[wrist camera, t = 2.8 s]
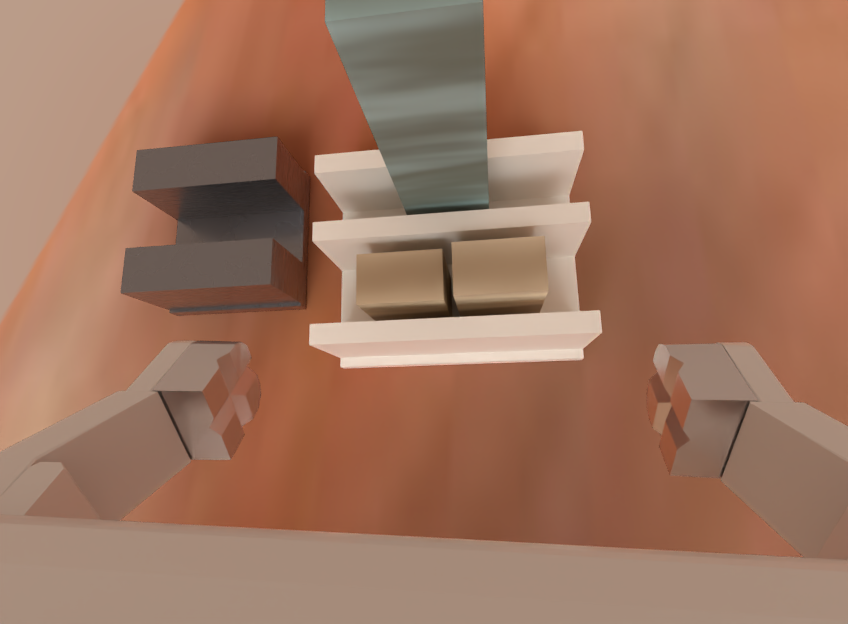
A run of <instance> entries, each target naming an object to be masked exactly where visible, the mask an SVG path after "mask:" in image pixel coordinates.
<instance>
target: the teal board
mask: <svg viewBox="0 0 848 624" xmlns="http://www.w3.org/2000/svg"><path fill="white" fill-rule="evenodd" d="M325 23H326V26H327V28H328V30H329V33H330V35H331V37H332V40H333V42H334V44H335V47H336V49H337V51H338V54H339V56H340V59H341V61H342V63H343V66H344V68H345V70H346V73H347V75H348V77H349V80H350V82H351V84H352V87H353V89H354V92H355V94H356V96H357V99H358V101H359V103H360V106H361V108H362V110H363V113H364V115H365V117H366V120H367V122H368V125H369V127H370V129H371V132H372V134H373V136H374V139H375V141H376V143H377V146H378V148H379V150H380V153H381V155H382V158H383V160H384V162H385V165H386V167H387V169H388V172H389V174H390V176H391V179H392V181H393V183H394V186H395V188H396V191H397V193H398V195H399V198H400V200H401V202H402V205H403V207H404V209H405V212H406V214H407V215H417V214H430V213H444V212H457V211H470V210H484V209H489V191H488V156H487V122H486V88H485V53H484V19H483V0H325Z"/></svg>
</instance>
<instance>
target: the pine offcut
mask: <svg viewBox="0 0 848 624" xmlns="http://www.w3.org/2000/svg"><path fill="white" fill-rule="evenodd" d="M451 245H452V274H453V296H454V299H455V302H456V305H457V308H458V311H459V314H460V317H468V316H489V315H510V314H531V313H540V311H541V308H542V306H543V303H544V301H545V298H546V296H547V293H548V291H549V286H548V273H547V260H546V247H545V236H535V237H520V238H505V239H490V240H476V241H461V242H451Z"/></svg>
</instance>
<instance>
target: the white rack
mask: <svg viewBox="0 0 848 624" xmlns="http://www.w3.org/2000/svg"><path fill="white" fill-rule="evenodd" d="M583 152H584V142H583V132H582V131H573V132H562V133H552V134H541V135H530V136H519V137H508V138H498V139H487V156H488V191H489V209H484V210H470V211H457V212H444V213H430V214H417V215H407V214H406V212H405V209H404V207H403V205H402V202H401V200H400V198H399V195H398V193H397V191H396V188H395V186H394V183H393V181H392V179H391V176H390V174H389V172H388V169H387V167H386V165H385V162H384V160H383V158H382V155H381V153H380V150H368V151H357V152H346V153H336V154H325V155H315V166H314V174H315V175H316V176H317V178H318V179H319V180H320V182H321V183H322V185H323V186H324V187H325V189H326V190H327V192H328V193H329V194H330V196H331V197H332V198H333V200H334V201H335V203H336V204H337V205H338V207H339V208H340V209H341V211H342V212H343V220H337V221H323V222H313V233H312V242H313V243H314V244H315V245H316V246H317V247H318V248H319V249H321V250H322V251H323V252H324V253H325V254H326V255H327V256H328V257H329V258H330V259H331V260H332V261H333V262H334V263H335V264H336V265H337V266H338V267H339V268H340V269H341V270H342V301H341V323H322V324H310V333H309V345H311V346H313V347H315V348H318V349H320V350H322V351H325V352H327V353H330V354H332V355H334V356H337V357H339V358H341V363H340V367H342V368H373V367H401V366H429V365H457V364H485V363H513V362H541V361H569V360H582V359H583V358H584V355H583V348H585V347H586V346H587V345H588V344H589V343H590V342H592V341H593V340H594V339H595V338H596V337H598V336H599V335H600V334H601V333H602V325H601V315H600V310H594V311H580V310H579V299H578V287H577V276H576V265H575V255H576V253H577V251H578V249H579V247H580V244H581V242H582V240H583V238H584V236H585V234H586V232H587V230H588V228H589V226H590V224H591V213H590V203H589V202H577V203H570V198H569V195H570V192H571V189H572V186H573V183H574V179H575V176H576V173H577V170H578V167H579V164H580V161H581V158H582V155H583ZM535 236H545V247H546V260H547V273H548V286H549V291H548V293H547V296H546V298H545V301H544V303H543V306H542V308H541V311H540V313H531V314H510V315H489V316H468V317H460V314H459V311H458V308H457V305H456V302H455V299H454V296H453V274H452V245H451V242H461V241H476V240H490V239H505V238H520V237H535ZM431 249H442V250H443V253H444V257H445V260H446V263H447V266H448V270H449V273H450V276H451V291H452V317H447V318H427V319H406V320H385V321H375V320H374V319H372V318H371V317H370V316H369V315H368V314H366V313H365V312H364V311H363V310H362V309H361V308H359V307H358V306H357V305H356V256H357V254H370V253H385V252H400V251H416V250H431Z"/></svg>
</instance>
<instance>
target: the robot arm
mask: <svg viewBox="0 0 848 624" xmlns="http://www.w3.org/2000/svg"><path fill="white" fill-rule="evenodd" d="M250 360H251V355H250V352H249V350H248V347H247V345H245V344H244V343H242V342H225V341H173V342H170V343H168V344H167V345H166V346H165V347H164V349H163V350H162V351H161V352H160V353H159V354H158V355H157V356H156V357H155V359H154V360H153V361H152V362H151V363H150V364H149V365H148V366H147V368H146V369H145V370H144V371H143V372H142V373H141V374H140V375H139V376H138V378H137V379H136V380H135V381H134V382H133V383H132V384H131V385H130V387H129V388H128V389H127V390H126V391H117V392H115V393H113V394H111V395H110V396H108V397H106V398H104V399H102V400H100V401H98V402H96V403H94V404H92V405H90V406H88V407H86V408H84V409H82V410H80V411H78V412H76V413H75V414H73V415H71V416H69V417H67V418H65V419H63V420H61V421H59V422H57V423H55V424H53V425H51V426H49V427H47V428H45V429H43V430H42V431H40V432H38V433H36V434H34V435H32V436H30V437H28V438H26V439H24V440H22V441H20V442H18V443H16V444H14V445H12V446H10V447H8V448H7V449H5V450H3V451H1V452H0V624H848V426H846V425H844V424H843V423H841V422H839V421H837V420H835V419H833V418H832V417H830V416H828V415H826V414H824V413H822V412H821V411H819V410H817V409H815V408H813V407H811V406H810V405H808V404H806V403H802V402H794V401H793V400H792V398H791V397H790V395H789V394H788V393H787V391H786V390H785V389H784V387H783V386H782V385H781V383H780V382H779V380H778V379H777V378H776V376H775V375H774V374H773V372H772V371H771V370H770V368H769V367H768V366H767V364H766V363H765V361H764V360H763V359H762V357H761V356H760V355H759V353H758V352H757V351H756V349H755V348H754V346H753V345H751V344H749V343H748V342H723V343H716V344H659V345H658V347H657V349H656V350H655V355H654V359H653V362H654V365H655V367H656V369H657V373H656V374H655V375H654V376H652V377H651V378H650V379H649V382H648V388H647V411H648V416H649V420H650V423H651V425H652V428H653V429H654V430H656V431H657V432H658V433H659V434H661V435H662V436H661V441H660V445H659V448H660V450H661V453H662V456H663V458H664V461H665V464H666V466H667V469H668V472H669V474H670V475H671V476H688V477H704V478H721V481H722V482H723V483H724V484H725V485H726V486H727V487H728V488H729V489H730V490H731V491H732V492H733V493H735V494H736V495H737V496H738V497H739V498H740V499H741V500H742V501H743V502H744V503H745V504H747V505H748V506H749V507H750V508H751V509H752V510H753V511H754V512H755V513H756V514H757V515H758V516H760V517H761V518H762V519H763V520H764V521H765V522H766V523H767V524H768V525H769V526H770V527H771V528H773V529H774V530H775V531H776V532H777V533H778V534H779V535H780V536H781V537H782V538H783V539H784V540H786V541H787V542H788V543H789V544H790V545H791V546H792V547H793V548H794V549H795V550H796V551H798V552H799V553H800V554H801V555H802V556H803V557H787V556H768V555H749V554H731V553H712V552H693V551H675V550H656V549H637V548H619V547H601V546H582V545H564V544H545V543H527V542H508V541H490V540H472V539H453V538H434V537H416V536H397V535H378V534H360V533H341V532H322V531H304V530H285V529H266V528H248V527H229V526H211V525H192V524H173V523H155V522H136V521H120V520H121V519H122V518H124V517H125V516H126V515H127V514H128V513H130V512H131V511H132V510H133V509H134V508H136V507H137V506H138V505H139V504H141V503H142V502H143V501H144V500H145V499H147V498H148V497H149V496H150V495H151V494H153V493H154V492H155V491H156V490H157V489H159V488H160V487H161V486H162V485H164V484H165V483H166V482H167V481H168V480H170V479H171V478H172V477H173V476H174V475H176V474H177V473H178V472H179V471H180V470H182V469H183V468H184V467H185V466H186V465H188V464H189V463H190V462H191V460H231V459H232V457H233V455H234V453H235V451H236V450H237V448H238V446H239V444H240V442H241V440H242V439H243V437H244V435H245V434H244V431H243V428H242V426H243V425H245V424H246V423H247V422H249V421H250V420H252V419H253V418H254V416H255V414H256V412H257V410H258V408H259V403H260V398H261V389H260V382H259V379H258V376H257V374H256V373H255V372H253V371H252V370H251V369H250V368H249V367H248V364H249V362H250Z"/></svg>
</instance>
